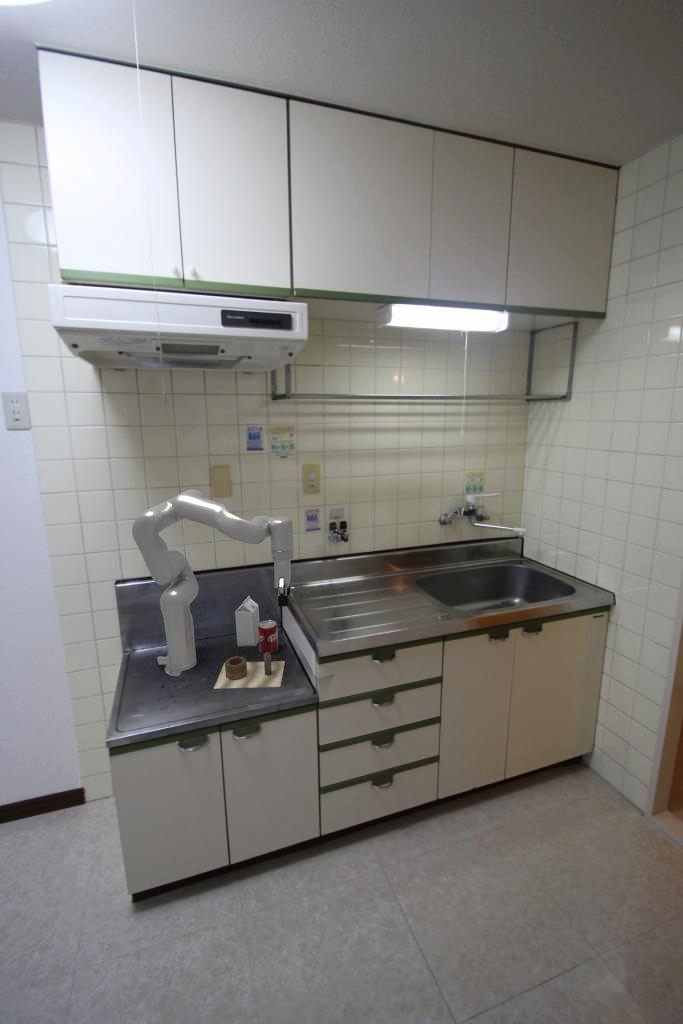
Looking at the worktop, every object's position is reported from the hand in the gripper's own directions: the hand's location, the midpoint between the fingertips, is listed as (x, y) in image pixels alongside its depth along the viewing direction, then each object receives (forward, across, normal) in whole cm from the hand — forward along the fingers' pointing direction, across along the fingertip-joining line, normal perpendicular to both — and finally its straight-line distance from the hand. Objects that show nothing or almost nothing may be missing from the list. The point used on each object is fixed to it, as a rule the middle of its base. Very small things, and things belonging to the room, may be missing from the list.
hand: (284, 600), depth 162 cm
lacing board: (+26, +6, -12) cm, 29 cm away
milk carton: (+27, -20, -17) cm, 37 cm away
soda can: (+26, -11, -8) cm, 30 cm away
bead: (+25, +6, -17) cm, 31 cm away
